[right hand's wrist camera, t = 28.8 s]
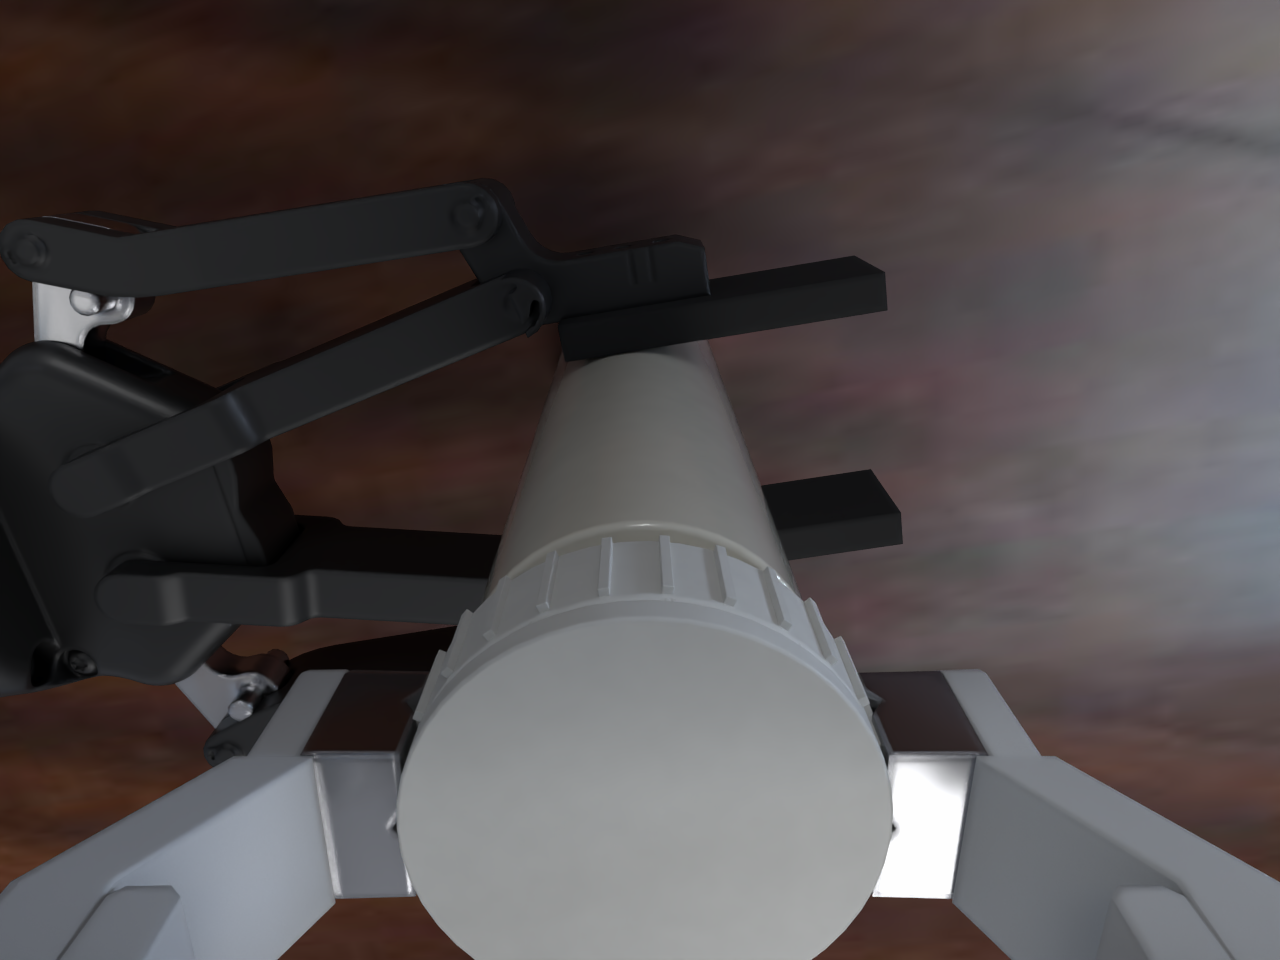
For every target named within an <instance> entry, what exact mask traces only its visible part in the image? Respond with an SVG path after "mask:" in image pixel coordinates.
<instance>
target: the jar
mask: <svg viewBox="0 0 1280 960" xmlns="http://www.w3.org/2000/svg"><path fill="white" fill-rule="evenodd" d="M659 535H665V536H669V537H670V543H680V544H685V545H690V546H695V547H700V548H705V549H709V550H712V551H714V548H715V546H716V545H719V546H722V547H725V548H726V553H727V556H730V557H733V558H736V559H739V560H741V561H743V562H745V563H747V564H749V565H751V566H753V567H755V568H757V569H759V570H761V571H764V570H765V569H766V567H767V566H768V567H770V568H772V569H773V570H775V571H776V574H777V577H778V580H779V582H780V583H782V584H783V585H785V586H786V587H788V588H789V589H790V590H791V591H792V592H793V593H795V594H796V595H797V596H798V597H799V598H800V599H801V600H803V599H802V597H801V594H800V591H799V589H798V586H797V583H796V580H795V578H794V575H793V572H792V569H791V567H790V564H789V561H788V558H787V556H786V553H785V550H784V547H783V545H782V542H781V539H780V537H779V534H778V531H777V528H776V526H775V523H774V520H773V517H772V515H771V512H770V509H769V506H768V504H767V501H766V498H765V496H764V493H763V490H762V487H761V485H760V482H759V479H758V476H757V474H756V471H755V468H754V465H753V463H752V460H751V457H750V454H749V452H748V449H747V446H746V444H745V441H744V438H743V435H742V433H741V430H740V427H739V424H738V422H737V419H736V416H735V413H734V411H733V408H732V405H731V402H730V400H729V397H728V394H727V392H726V389H725V386H724V383H723V381H722V378H721V375H720V372H719V370H718V367H717V364H716V361H715V359H714V356H713V353H712V351H711V348H710V345H709V342H708V340H701V341H694V342H688V343H682V344H676V345H670V346H663V347H657V348H651V349H645V350H639V351H632V352H626V353H620V354H614V355H608V356H601V357H595V358H589V359H583V360H577V361H571V362H565V360H564V355H563V350H562V352H561V355H560V358H559V361H558V364H557V367H556V370H555V373H554V377H553V380H552V383H551V386H550V389H549V392H548V395H547V398H546V401H545V404H544V407H543V411H542V414H541V417H540V420H539V423H538V426H537V429H536V432H535V435H534V438H533V441H532V445H531V448H530V451H529V454H528V457H527V460H526V463H525V466H524V469H523V472H522V475H521V479H520V482H519V485H518V488H517V491H516V494H515V497H514V500H513V503H512V506H511V509H510V512H509V516H508V519H507V522H506V525H505V528H504V531H503V534H502V537H501V540H500V543H499V546H498V550H497V553H496V556H495V559H494V562H493V565H492V568H491V571H490V574H489V577H488V580H487V584H486V587H485V590H484V593H483V596H482V599H481V602H480V605H479V607H480V606H481V605H482V603H483V602H484V601H485V600H486V599H487V598H489V597H490V596H491V595H492V594H494V593H495V592H496V589H497V585H498V582H499V580H500V579H501V578H503V577H504V576H506V575H507V576H508V577H509V578H510V579H511V580H512V579H514V578H516V577H517V576H519V575H521V574H523V573H524V572H526V571H528V570H529V569H531V568H533V567H535V566H537V565H539V564H542V563H544V562H545V560H546V555H547V553H550V552H552V551H555V550H556V551H557V553H558V555H559V556H561V555H564V554H567V553H570V552H574V551H577V550H581V549H584V548H588V547H592V546H598V545H601V539H602V538H606V537H612V541H613V543H617V542H635V541H657V542H659Z"/></svg>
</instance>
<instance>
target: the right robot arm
mask: <svg viewBox="0 0 1280 960" xmlns="http://www.w3.org/2000/svg"><path fill="white" fill-rule="evenodd" d="M429 673H430V671H381V670H351V671H349V670H347V669H343V670H308V671H305V672H302V673H301V674H300V675H299V676H298V678H297V679H296V681H295V682H294V684H293V685H292V687H291V689H290V690H289V692H288V693H287V695H286V696H285V698H284V699H283V701H282V703H281V704H280V706H279V707H278V709H277V710H276V712H275V713H274V715H273V716H272V718H271V720H270V721H269V723H268V724H267V726H266V727H265V729H264V730H263V732H262V734H261V735H260V737H259V738H258V740H257V741H256V743H255V744H254V746H253V747H252V749H251V751H250V752H249V754H248V755H247V756H233V757H231V758H229V759H228V760H226V761H224V762H222V763H221V764H219V765H217V766H215V767H214V768H212V769H210V770H208V771H206V772H205V773H203V774H201V775H199V776H198V777H196V778H194V779H192V780H190V781H189V782H187V783H185V784H183V785H182V786H180V787H178V788H176V789H174V790H173V791H171V792H169V793H167V794H166V795H164V796H162V797H160V798H159V799H157V800H155V801H153V802H151V803H150V804H148V805H146V806H144V807H143V808H141V809H139V810H137V811H135V812H134V813H132V814H130V815H128V816H127V817H125V818H123V819H121V820H119V821H118V822H116V823H114V824H112V825H111V826H109V827H107V828H105V829H104V830H102V831H100V832H98V833H96V834H95V835H93V836H91V837H89V838H88V839H86V840H84V841H82V842H80V843H79V844H77V845H75V846H73V847H72V848H70V849H68V850H66V851H64V852H63V853H61V854H59V855H57V856H56V857H54V858H52V859H50V860H49V861H47V862H45V863H43V864H41V865H40V866H38V867H36V868H34V869H33V870H31V871H29V872H27V873H25V874H24V875H22V876H20V877H18V878H17V879H15V880H13V881H11V882H10V883H9V885H8V886H7V887H6V888H5V889H4V890H3V892H2V893H1V894H0V960H277V959H278V958H279V957H280V956H281V955H282V954H283V953H284V952H286V951H287V950H288V949H289V948H290V947H291V946H292V945H293V944H294V943H295V942H296V941H297V940H298V939H299V938H300V937H301V936H302V935H303V934H304V933H305V932H306V931H307V930H308V929H309V928H310V927H311V926H312V925H313V924H314V923H315V922H316V921H317V920H318V919H320V918H321V917H322V916H323V915H324V914H325V913H326V912H327V911H328V910H329V909H330V908H331V907H332V906H333V905H334V904H335V899H341V898H375V897H410V896H416V891H415V889H414V887H413V885H412V883H411V881H410V879H409V876H408V873H407V870H406V867H405V864H404V861H403V859H402V855H401V850H400V844H399V839H398V833H397V797H398V790H399V784H400V778H401V774H402V771H403V768H404V765H405V762H406V759H407V756H408V753H409V750H410V747H411V745H412V742H413V739H414V736H415V734H416V732H417V723H416V720H414V719H413V715H414V713H415V710H416V708H417V705H418V702H419V700H420V697H421V694H422V692H423V689H424V687H425V684H426V681H427V679H428V676H429ZM858 676H859V678H860V680H861V683H862V685H863V688H864V690H865V692H866V695H867V697H868V700H869V702H870V704H869V705H870V707H871V710H872V712H873V714H872V723H873V726H874V728H875V731H876V733H877V736H878V738H879V741H880V743H881V746H880V749H881V751H882V754H883V756H884V759H885V763H886V767H887V771H888V774H889V778H890V782H891V789H892V800H893V822H892V835H891V840H890V844H889V848H888V853H887V857H886V861H885V864H884V867H883V869H882V872H881V874H880V876H879V879H878V881H877V884H876V886H875V888H874V890H873V891H872V893H871V894H872V896H875V897H911V898H947V899H953V901H952V903H953V904H954V905H956V906H957V907H958V908H959V909H960V910H961V911H962V912H963V913H964V914H965V915H966V916H967V917H968V918H969V919H970V920H971V921H972V922H973V923H974V924H975V925H976V926H977V927H978V928H979V929H980V930H981V931H982V932H984V933H985V934H986V935H987V936H988V937H989V938H990V939H991V940H992V941H993V942H994V943H995V944H996V945H997V946H998V947H999V948H1000V949H1001V950H1002V951H1003V952H1004V953H1005V954H1006V955H1007V956H1008V957H1009V958H1010V959H1011V960H1280V882H1278V881H1277V880H1275V879H1273V878H1271V877H1270V876H1268V875H1266V874H1264V873H1262V872H1261V871H1259V870H1257V869H1255V868H1253V867H1252V866H1250V865H1248V864H1246V863H1245V862H1243V861H1241V860H1239V859H1237V858H1236V857H1234V856H1232V855H1230V854H1228V853H1227V852H1225V851H1223V850H1221V849H1220V848H1218V847H1216V846H1214V845H1212V844H1211V843H1209V842H1207V841H1205V840H1204V839H1202V838H1200V837H1198V836H1196V835H1195V834H1193V833H1191V832H1189V831H1187V830H1186V829H1184V828H1182V827H1180V826H1179V825H1177V824H1175V823H1173V822H1171V821H1170V820H1168V819H1166V818H1164V817H1162V816H1161V815H1159V814H1157V813H1155V812H1154V811H1152V810H1150V809H1148V808H1146V807H1145V806H1143V805H1141V804H1139V803H1138V802H1136V801H1134V800H1132V799H1130V798H1129V797H1127V796H1125V795H1123V794H1121V793H1120V792H1118V791H1116V790H1114V789H1113V788H1111V787H1109V786H1107V785H1105V784H1104V783H1102V782H1100V781H1098V780H1096V779H1095V778H1093V777H1091V776H1089V775H1088V774H1086V773H1084V772H1082V771H1080V770H1079V769H1077V768H1075V767H1073V766H1072V765H1070V764H1068V763H1066V762H1064V761H1063V760H1061V759H1059V758H1057V757H1055V756H1041V755H1040V753H1039V752H1038V750H1037V749H1036V747H1035V746H1034V744H1033V743H1032V741H1031V740H1030V738H1029V737H1028V735H1027V734H1026V732H1025V731H1024V729H1023V728H1022V726H1021V725H1020V723H1019V722H1018V720H1017V719H1016V717H1015V716H1014V714H1013V713H1012V711H1011V710H1010V708H1009V707H1008V705H1007V704H1006V702H1005V701H1004V699H1003V698H1002V696H1001V695H1000V693H999V692H998V690H997V689H996V687H995V686H994V684H993V683H992V681H991V680H990V678H989V677H988V675H987V674H986V673H985V672H983V671H981V670H980V669H966V670H939V671H915V672H873V673H858Z"/></svg>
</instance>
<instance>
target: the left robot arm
mask: <svg viewBox="0 0 1280 960" xmlns="http://www.w3.org/2000/svg"><path fill="white" fill-rule="evenodd" d="M453 250H460V251H461V253H462V254H463V256H464V258H465V259H466V261H467V263H468V264H469V266H470V267H471V269H472V271H473V272H474V274H475V276H476V277H477V279H474V280H472V281H470V282H467V283H465V284H463V285H460V286H458V287H456V288H453V289H451V290H449V291H446V292H444V293H442V294H439V295H437V296H434V297H432V298H430V299H427V300H425V301H423V302H420V303H418V304H416V305H413V306H411V307H409V308H406V309H404V310H402V311H399V312H397V313H395V314H392V315H390V316H387V317H385V318H383V319H380V320H378V321H376V322H373V323H371V324H369V325H366V326H364V327H362V328H359V329H357V330H355V331H352V332H350V333H348V334H345V335H343V336H341V337H338V338H336V339H333V340H331V341H329V342H326V343H324V344H322V345H319V346H317V347H315V348H312V349H310V350H308V351H305V352H303V353H301V354H298V355H296V356H294V357H291V358H289V359H286V360H284V361H281V362H277V363H274V364H271V365H269V366H267V367H264V368H262V369H260V370H257V371H255V372H253V373H250V374H248V375H246V376H243V377H241V378H238V379H236V380H234V381H231V382H229V383H227V384H224V385H222V386H220V387H217V388H214V387H212V386H210V385H208V384H205V383H203V382H201V381H199V380H197V379H194V378H192V377H190V376H188V375H185V374H183V373H181V372H179V371H177V370H174V369H172V368H170V367H168V366H165V365H163V364H161V363H159V362H156V361H154V360H152V359H150V358H148V357H145V356H143V355H141V354H139V353H136V352H134V351H132V350H130V349H127V348H125V347H123V346H121V345H119V344H116V343H114V342H112V341H110V340H107V339H106V334H107V330H108V329H109V327H110V325H111V324H117V323H120V322H123V321H126V320H128V319H131V318H134V317H137V316H140V315H142V314H145V313H146V312H147V311H149V310H150V309H151V307H152V306H153V304H154V301H155V296H161V295H168V294H174V293H181V292H187V291H194V290H200V289H207V288H213V287H220V286H226V285H233V284H239V283H246V282H252V281H259V280H265V279H272V278H278V277H284V276H291V275H297V274H304V273H310V272H317V271H323V270H330V269H336V268H343V267H349V266H356V265H362V264H369V263H375V262H382V261H388V260H395V259H401V258H408V257H414V256H421V255H427V254H434V253H440V252H447V251H453ZM0 254H1V257H2V259H3V260H4V262H5V264H6V265H7V267H8V268H9V269H10V270H11V271H12V272H14V273H15V274H16V275H17V276H19V277H21V278H23V279H26V280H28V281H31V282H32V284H33V310H34V336H35V342H31V343H28V344H25V345H23V346H21V347H19V348H18V349H16V350H14V351H13V352H12V353H11V354H10V355H8V356H7V358H6V359H5V360H4V361H3V362H2V363H1V364H0V697H5V696H12V695H19V694H26V693H32V692H37V691H42V690H47V689H51V688H55V687H59V686H62V685H66V684H69V683H73V682H76V681H80V680H83V679H87V678H91V677H95V676H115V677H122V678H126V679H130V680H134V681H137V682H140V683H144V684H148V685H159V686H161V685H170V684H174V683H175V684H176V685H177V686H178V687H179V689H180V690H181V691H182V692H183V693H184V694H185V695H186V696H187V698H188V699H189V700H190V701H191V702H192V703H193V704H194V705H195V706H196V708H197V709H198V710H199V711H200V712H201V713H202V714H203V715H204V716H205V718H206V719H207V720H208V721H209V722H210V723H211V724H212V725H213V727H214V728H215V730H214V731H213V733H212V734H211V735H210V737H209V738H208V740H207V741H206V743H205V746H204V748H203V749H204V756H205V758H206V760H207V761H208V763H209V764H210V765H211V766H212V767H215V766H217V765H219V764H221V763H222V762H224V761H226V760H228V759H229V758H231V757H233V756H247V755H248V754H249V752H250V751H251V749H252V747H253V746H254V744H255V743H256V741H257V740H258V738H259V737H260V735H261V734H262V732H263V730H264V729H265V727H266V726H267V724H268V723H269V721H270V720H271V718H272V716H273V715H274V713H275V712H276V710H277V709H278V707H279V706H280V704H281V703H282V701H283V699H284V698H285V696H286V695H287V693H288V692H289V690H290V689H291V687H292V685H293V684H294V682H295V681H296V679H297V678H298V676H299V675H300V674H301V673H302V672H305V671H308V670H343V669H347V670H349V671H351V670H381V671H431V668H432V666H433V663H434V660H435V658H436V655H437V653H438V651H439V650H442V651H445V652H447V651H448V649H449V647H450V645H451V643H452V640H453V637H454V635H455V632H456V629H457V626H453V627H446V628H440V629H434V630H427V631H421V632H415V633H408V634H402V635H396V636H389V637H383V638H377V639H370V640H364V641H358V642H351V643H345V644H338V645H333V646H328V647H324V648H319V649H316V650H313V651H310V652H307V653H304V654H301V655H299V656H297V657H295V658H293V659H291V660H289V658H288V656H287V654H286V653H285V652H284V651H282V650H279V649H272V650H271V651H269V652H268V653H267V654H257V655H253V656H248V657H246V656H238V655H234V654H232V653H230V652H228V651H227V650H226V649H224V648H223V647H222V646H221V645H222V644H223V643H224V642H225V641H226V640H227V639H228V638H229V637H230V636H231V635H232V634H233V633H234V632H235V630H236V629H237V628H238V627H239V626H240V625H241V624H243V625H261V626H278V627H281V626H292V625H296V624H299V623H301V622H304V621H306V620H308V619H311V618H315V617H326V618H344V619H361V620H379V621H397V622H415V623H433V624H450V625H458V624H459V621H460V618H461V615H462V614H463V613H464V612H465V611H466V610H467V609H468V610H469V611H471V612H472V613H474V612H475V611H476V610H477V609H478V608H479V605H480V602H481V599H482V596H483V593H484V590H485V587H486V584H487V580H488V577H489V574H490V571H491V568H492V565H493V562H494V559H495V556H496V553H497V550H498V546H499V543H500V540H501V537H502V535H488V534H471V533H454V532H437V531H420V530H402V529H385V528H368V527H351V526H345V525H343V524H342V523H341V522H340V520H338V519H336V518H332V517H322V516H305V515H294V512H293V509H292V507H291V505H290V504H289V502H288V501H287V499H286V497H285V496H284V494H283V493H282V491H281V490H280V488H279V486H278V485H277V483H276V482H275V480H274V474H273V454H272V445H271V442H270V438H273V437H275V436H277V435H280V434H282V433H284V432H287V431H289V430H292V429H294V428H297V427H299V426H301V425H304V424H306V423H309V422H311V421H314V420H316V419H318V418H321V417H323V416H326V415H328V414H330V413H333V412H335V411H338V410H340V409H343V408H345V407H347V406H350V405H352V404H355V403H357V402H360V401H362V400H364V399H367V398H369V397H372V396H374V395H377V394H379V393H381V392H384V391H386V390H389V389H391V388H393V387H396V386H398V385H401V384H403V383H406V382H408V381H410V380H413V379H415V378H418V377H420V376H423V375H425V374H427V373H430V372H432V371H435V370H437V369H439V368H442V367H444V366H447V365H449V364H452V363H454V362H456V361H459V360H461V359H464V358H466V357H469V356H471V355H473V354H476V353H478V352H481V351H483V350H485V349H488V348H490V347H493V346H495V345H498V344H500V343H502V342H505V341H507V340H510V339H512V338H515V337H517V336H519V335H522V334H524V333H526V335H527V337H530V336H531V335H533V334H534V333H536V332H537V331H538V330H539V328H540V327H541V325H544V324H550V323H556V322H559V324H558V330H559V335H560V340H561V345H562V350H563V355H564V360H565V362H571V361H577V360H583V359H589V358H595V357H601V356H608V355H614V354H620V353H626V352H632V351H639V350H645V349H651V348H657V347H663V346H670V345H676V344H682V343H688V342H694V341H701V340H707V339H713V338H719V337H725V336H732V335H738V334H744V333H750V332H756V331H762V330H769V329H775V328H781V327H787V326H793V325H800V324H806V323H812V322H818V321H824V320H831V319H837V318H843V317H849V316H855V315H862V314H868V313H874V312H880V311H886V310H887V296H886V281H885V272H884V271H882V270H880V269H878V268H876V267H874V266H872V265H871V264H869V263H867V262H865V261H863V260H861V259H860V258H858V257H856V256H849V257H843V258H837V259H831V260H825V261H819V262H813V263H807V264H801V265H795V266H789V267H783V268H777V269H771V270H765V271H759V272H753V273H747V274H741V275H734V276H728V277H722V278H716V279H710V280H709V278H708V270H707V263H706V256H705V248H704V246H703V244H702V242H701V241H700V240H697V239H693V238H688V237H684V236H680V235H671V236H665V237H659V238H653V239H648V240H641V241H635V242H631V243H623V244H618V245H612V246H606V247H600V248H594V249H588V250H582V251H576V252H570V253H559V252H554V251H551V250H549V249H547V248H545V247H543V246H542V245H541V244H539V243H538V242H537V241H536V240H535V238H534V237H533V236H532V234H531V233H530V231H529V230H528V228H527V226H526V225H525V223H524V221H523V219H522V218H521V216H520V214H519V213H518V211H517V209H516V207H515V202H514V200H513V197H512V195H511V192H510V191H509V190H508V189H507V188H506V187H505V186H504V184H502V183H500V182H498V181H496V180H494V179H485V178H481V179H475V180H469V181H462V182H456V183H450V184H443V185H437V186H431V187H424V188H418V189H412V190H405V191H399V192H393V193H387V194H380V195H374V196H368V197H361V198H355V199H349V200H342V201H336V202H330V203H324V204H317V205H311V206H305V207H298V208H292V209H286V210H279V211H273V212H267V213H260V214H254V215H248V216H242V217H235V218H229V219H223V220H216V221H210V222H204V223H197V224H191V225H185V226H178V227H176V226H171V225H166V224H161V223H156V222H151V221H146V220H141V219H137V218H132V217H127V216H122V215H117V214H112V213H107V212H102V211H84V212H76V213H67V214H59V215H51V216H43V217H36V218H28V219H20V220H15V221H13V222H11V223H9V224H7V225H6V226H5V227H4V229H3V230H2V231H1V233H0ZM761 487H762V490H763V493H764V496H765V498H766V501H767V504H768V506H769V509H770V512H771V515H772V517H773V520H774V523H775V526H776V528H777V531H778V534H779V537H780V539H781V542H782V545H783V547H784V550H785V553H786V556H787V558H788V560H794V559H801V558H808V557H815V556H822V555H829V554H836V553H843V552H850V551H856V550H863V549H870V548H877V547H884V546H891V545H898V544H903V540H902V525H901V512H900V511H899V509H898V508H897V506H896V505H895V504H894V502H893V501H892V499H891V498H890V496H889V495H888V493H887V492H886V491H885V489H884V488H883V486H882V485H881V483H880V482H879V480H878V479H877V478H876V476H875V475H874V473H873V472H872V470H871V469H870V470H863V471H856V472H850V473H843V474H836V475H830V476H823V477H816V478H810V479H803V480H796V481H789V482H783V483H776V484H769V485H763V486H761Z"/></svg>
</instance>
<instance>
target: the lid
mask: <svg viewBox="0 0 1280 960" xmlns="http://www.w3.org/2000/svg"><path fill="white" fill-rule="evenodd" d="M869 704H870V702H869V700H868V697H867V695H866V692H865V690H864V688H863V685H862V683H861V680H860V678H859V676H858V673H857V671H856V668H855V666H854V664H853V661H852V659H851V656H850V654H849V652H848V649H847V647H846V645H845V642H844V640H843V639H842V637H841V636H839V637H837V638H835V639H833V637H832V635H831V634H830V632H829V631H828V629H827V628H826V626H825V624H824V623H823V620H822V618H821V615H820V613H819V610H818V607H817V605H816V603H815V602H814V601H813V600H812V599H811V598H808V599H807V600H806V601H803V600H801V599H800V598H799V597H798V596H797V595H796V594H795V593H793V592H792V591H791V590H790V589H789V588H788V587H786V586H785V585H783V584H782V583H780V582H779V580H778V577H777V574H776V571H775V570H773V569H772V568H770V567H768V566H767V567H766V569H765V570H764V571H761V570H759V569H757V568H755V567H753V566H751V565H749V564H747V563H745V562H743V561H741V560H739V559H736V558H733V557H730V556H727V553H726V548H725V547H722V546H719V545H716V546H715V548H714V551H712V550H709V549H705V548H700V547H695V546H690V545H685V544H680V543H670V537H669V536H665V535H659V542H657V541H635V542H617V543H613V541H612V537H606V538H602V539H601V545H598V546H592V547H588V548H584V549H581V550H577V551H574V552H570V553H567V554H564V555H561V556H559V555H558V553H557V551H556V550H555V551H552V552H550V553H547V555H546V560H545V562H544V563H542V564H539V565H537V566H535V567H533V568H531V569H529V570H528V571H526V572H524V573H523V574H521V575H519V576H517V577H516V578H514V579H512V580H511V579H510V578H509V577H508V576H507V575H506V576H504V577H503V578H501V579H500V580H499V582H498V585H497V589H496V592H495V593H494V594H492V595H491V596H490V597H489V598H487V599H486V600H485V601H484V602H483V603H482V605H481V606H480V607H479V608H478V609H477V610H476V611H475V612H474V613H472V612H471V611H469V610H468V609H467V610H466V611H465V612H464V613H463V614H462V615H461V618H460V621H459V624H458V626H457V629H456V632H455V635H454V637H453V640H452V643H451V645H450V647H449V649H448V651H447V652H445V651H442V650H439V651H438V653H437V655H436V658H435V660H434V663H433V666H432V668H431V671H430V673H429V676H428V679H427V681H426V684H425V687H424V689H423V692H422V694H421V697H420V700H419V702H418V705H417V708H416V710H415V713H414V715H413V719H414V720H416V723H417V732H416V734H415V736H414V739H413V742H412V745H411V747H410V750H409V753H408V756H407V759H406V762H405V765H404V768H403V771H402V774H401V778H400V784H399V790H398V797H397V833H398V839H399V844H400V850H401V855H402V859H403V861H404V864H405V867H406V870H407V873H408V876H409V879H410V881H411V883H412V885H413V887H414V889H415V891H416V893H417V895H418V897H419V898H420V900H421V902H422V904H423V905H424V907H425V908H426V910H427V911H428V912H429V914H430V915H431V916H432V918H433V919H434V921H435V922H436V923H437V925H438V926H439V927H440V928H441V929H442V930H443V931H444V932H445V933H446V934H447V935H448V936H449V937H450V938H451V939H452V941H453V942H454V943H455V944H456V945H458V946H459V947H460V948H461V949H462V950H464V951H465V952H466V953H467V954H469V955H470V956H471V957H472V958H474V959H475V960H812V959H813V958H814V957H816V956H817V955H818V954H820V953H821V952H822V951H824V950H825V949H826V948H827V947H828V946H829V945H830V944H831V943H832V942H833V941H834V940H835V939H836V938H837V937H839V936H840V935H841V934H842V933H843V932H844V931H845V930H846V928H847V927H848V926H849V925H850V923H851V922H852V921H853V920H854V918H855V917H856V916H857V915H858V913H859V912H860V911H861V910H862V908H863V906H864V905H865V903H866V901H867V900H868V898H869V896H870V895H871V893H872V891H873V890H874V888H875V886H876V884H877V881H878V879H879V876H880V874H881V872H882V869H883V867H884V864H885V861H886V857H887V853H888V848H889V844H890V840H891V835H892V822H893V800H892V789H891V782H890V778H889V774H888V771H887V767H886V763H885V759H884V756H883V754H882V751H881V749H880V746H881V743H880V741H879V738H878V736H877V733H876V731H875V728H874V726H873V723H872V714H873V712H872V710H871V707H870V705H869Z"/></svg>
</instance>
